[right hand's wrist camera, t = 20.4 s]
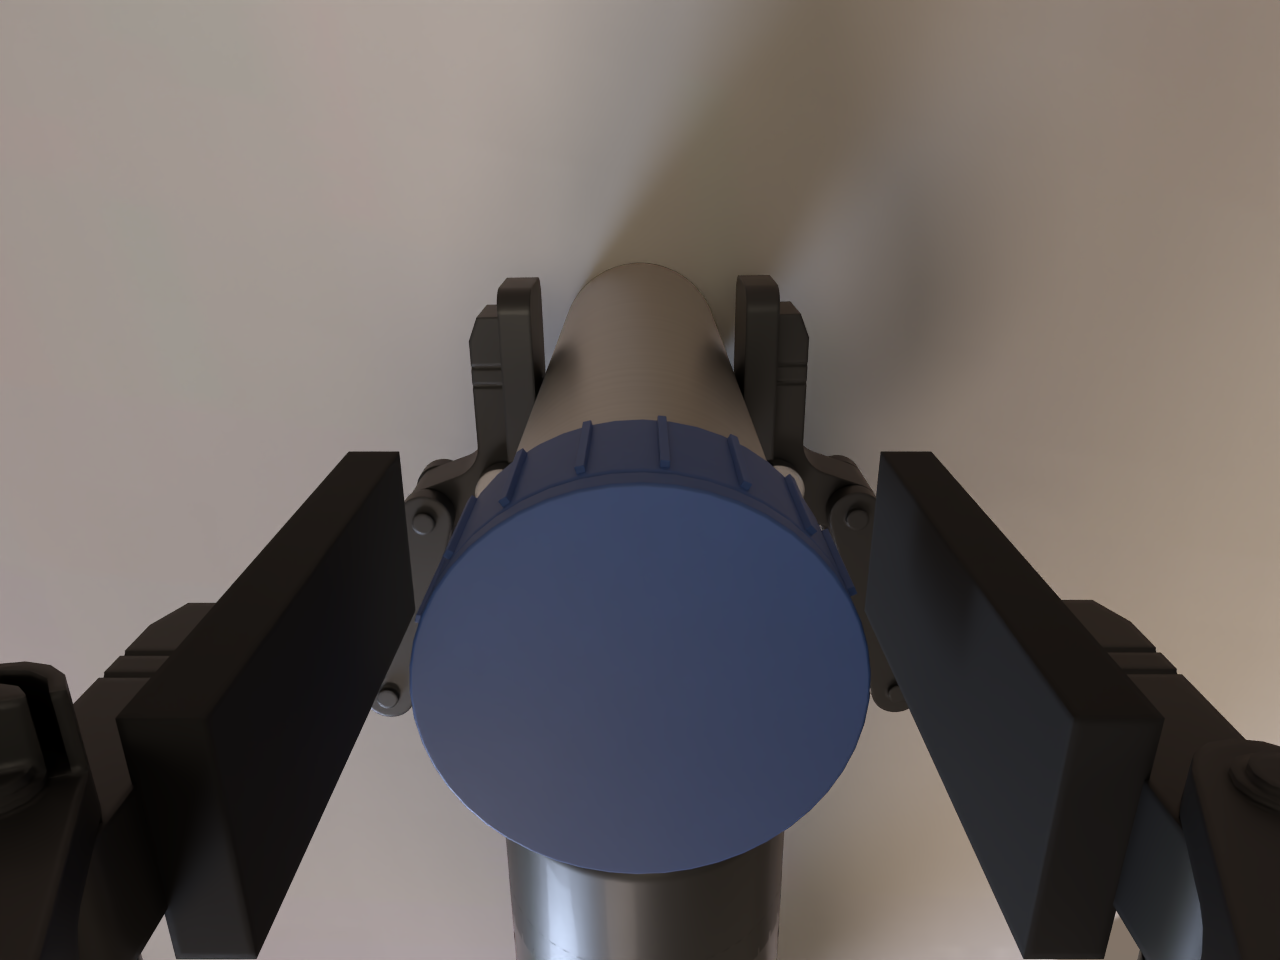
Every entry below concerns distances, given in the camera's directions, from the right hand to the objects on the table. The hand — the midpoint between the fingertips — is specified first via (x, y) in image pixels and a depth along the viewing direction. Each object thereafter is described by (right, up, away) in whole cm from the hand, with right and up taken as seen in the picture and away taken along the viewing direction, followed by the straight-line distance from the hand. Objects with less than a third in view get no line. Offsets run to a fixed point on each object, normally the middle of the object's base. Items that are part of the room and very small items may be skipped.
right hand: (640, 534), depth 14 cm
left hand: (0, +5, +5) cm, 7 cm away
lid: (0, -1, -4) cm, 4 cm away
